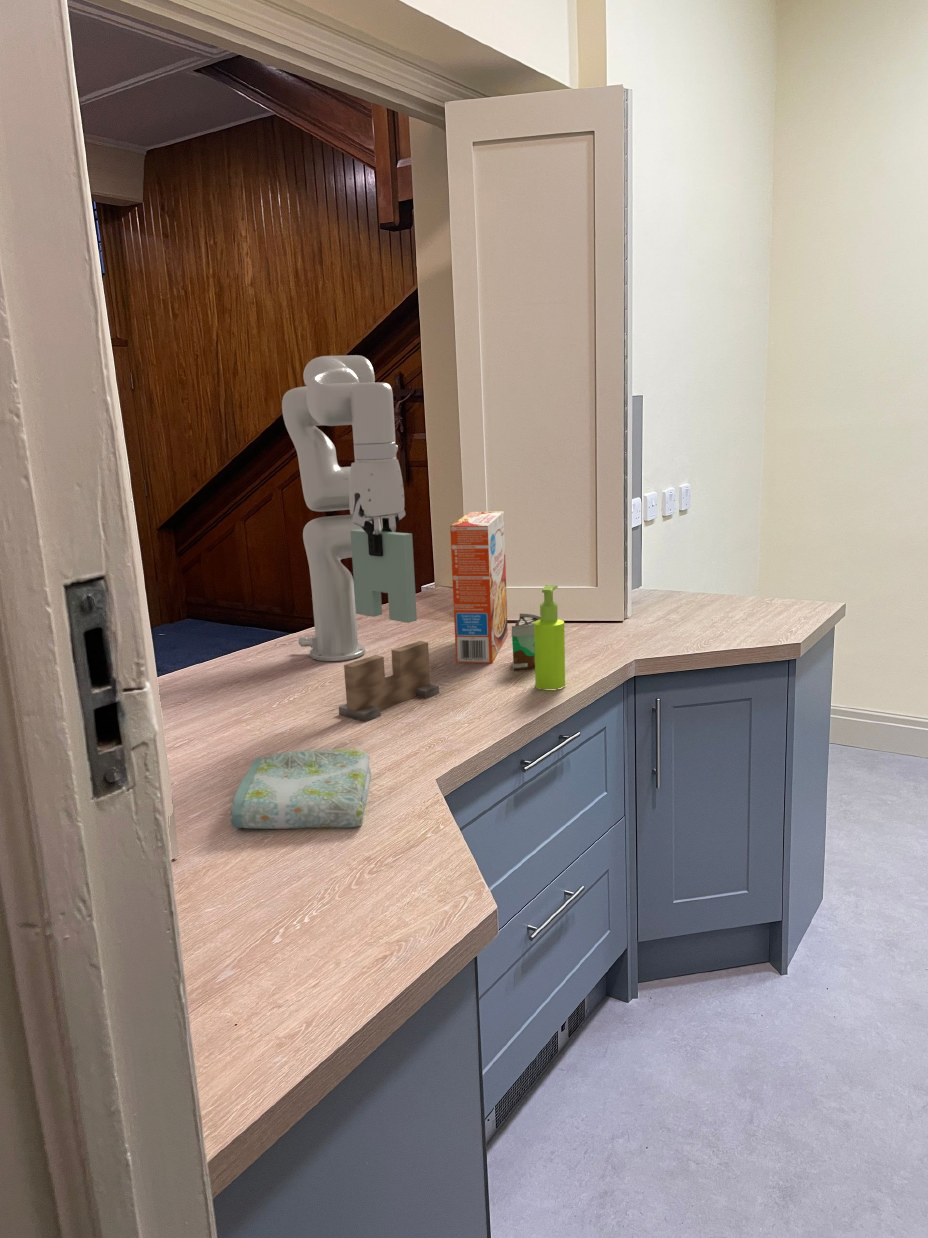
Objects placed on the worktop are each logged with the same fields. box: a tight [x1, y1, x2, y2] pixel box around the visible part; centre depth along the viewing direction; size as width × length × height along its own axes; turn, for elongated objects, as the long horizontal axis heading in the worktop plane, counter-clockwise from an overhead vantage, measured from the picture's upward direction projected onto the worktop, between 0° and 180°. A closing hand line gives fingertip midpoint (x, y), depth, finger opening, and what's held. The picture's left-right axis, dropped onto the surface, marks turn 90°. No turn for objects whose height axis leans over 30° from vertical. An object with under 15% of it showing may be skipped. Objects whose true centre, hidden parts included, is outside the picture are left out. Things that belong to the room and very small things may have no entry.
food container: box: [511, 612, 540, 672], centre depth 201 cm, size 12×6×10 cm, turn 168°
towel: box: [230, 748, 372, 830], centre depth 138 cm, size 18×21×5 cm
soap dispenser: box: [534, 584, 566, 690], centre depth 185 cm, size 6×7×20 cm
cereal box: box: [449, 511, 509, 664], centre depth 212 cm, size 23×8×30 cm, turn 169°
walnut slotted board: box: [338, 640, 440, 723], centre depth 179 cm, size 20×7×10 cm, turn 139°
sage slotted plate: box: [350, 529, 418, 624], centre depth 174 cm, size 2×14×16 cm, turn 49°
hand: (381, 553), depth 173 cm, fingers closed on sage slotted plate, 2 cm apart
